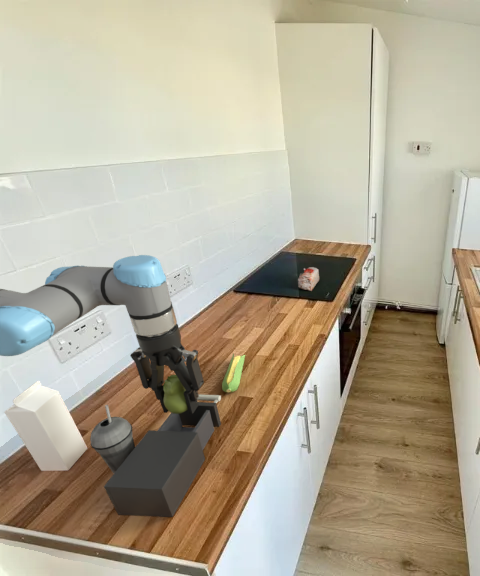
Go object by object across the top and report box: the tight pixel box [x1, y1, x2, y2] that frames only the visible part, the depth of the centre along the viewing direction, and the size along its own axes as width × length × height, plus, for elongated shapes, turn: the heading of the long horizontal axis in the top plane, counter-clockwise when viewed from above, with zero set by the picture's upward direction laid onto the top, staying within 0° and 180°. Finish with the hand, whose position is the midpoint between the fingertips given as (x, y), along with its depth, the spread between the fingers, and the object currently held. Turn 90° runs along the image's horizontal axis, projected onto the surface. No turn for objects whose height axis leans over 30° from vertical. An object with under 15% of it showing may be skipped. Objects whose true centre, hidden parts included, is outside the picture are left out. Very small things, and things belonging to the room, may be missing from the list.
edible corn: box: [221, 353, 246, 393], centre depth 106 cm, size 5×20×5 cm, turn 12°
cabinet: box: [103, 429, 206, 518], centre depth 72 cm, size 13×11×9 cm
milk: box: [4, 380, 88, 472], centre depth 73 cm, size 6×6×22 cm
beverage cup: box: [89, 404, 136, 475], centre depth 72 cm, size 7×7×20 cm
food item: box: [297, 266, 320, 292], centre depth 168 cm, size 14×8×10 cm, turn 173°
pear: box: [163, 374, 188, 414], centre depth 76 cm, size 6×5×10 cm
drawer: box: [157, 393, 222, 451], centre depth 84 cm, size 18×10×8 cm, turn 179°
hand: (181, 408), depth 79 cm, fingers closed on pear, 5 cm apart
